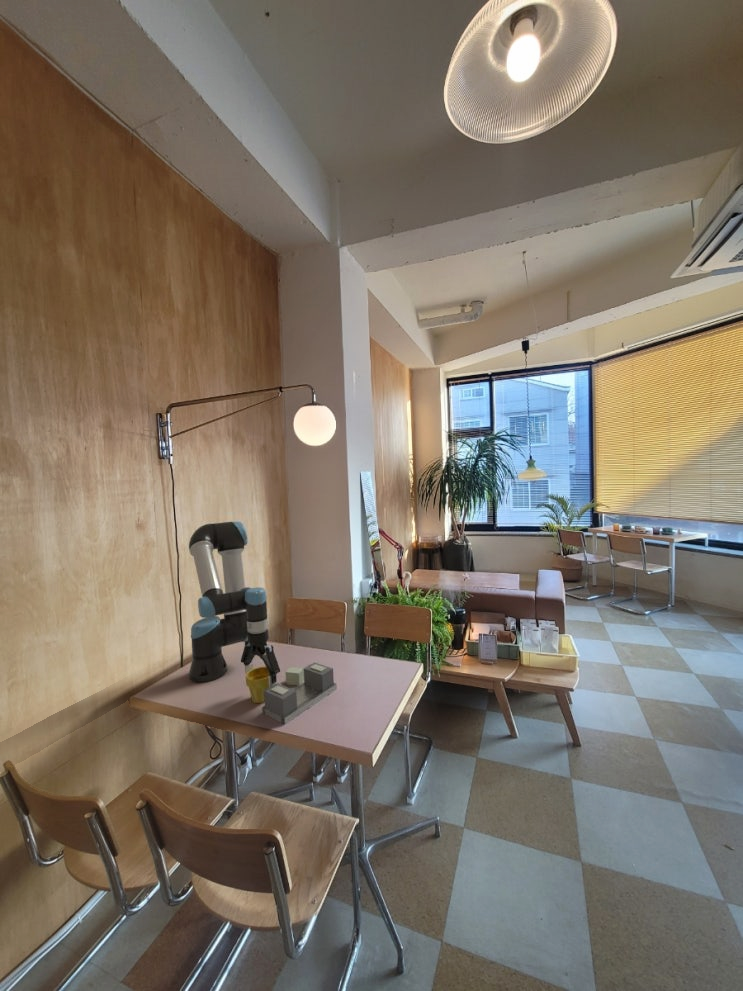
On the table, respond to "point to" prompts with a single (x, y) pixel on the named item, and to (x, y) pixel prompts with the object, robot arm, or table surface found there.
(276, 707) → the module near
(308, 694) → the rail
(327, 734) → the table surface
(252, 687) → the plant pot
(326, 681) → the block
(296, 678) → the block
